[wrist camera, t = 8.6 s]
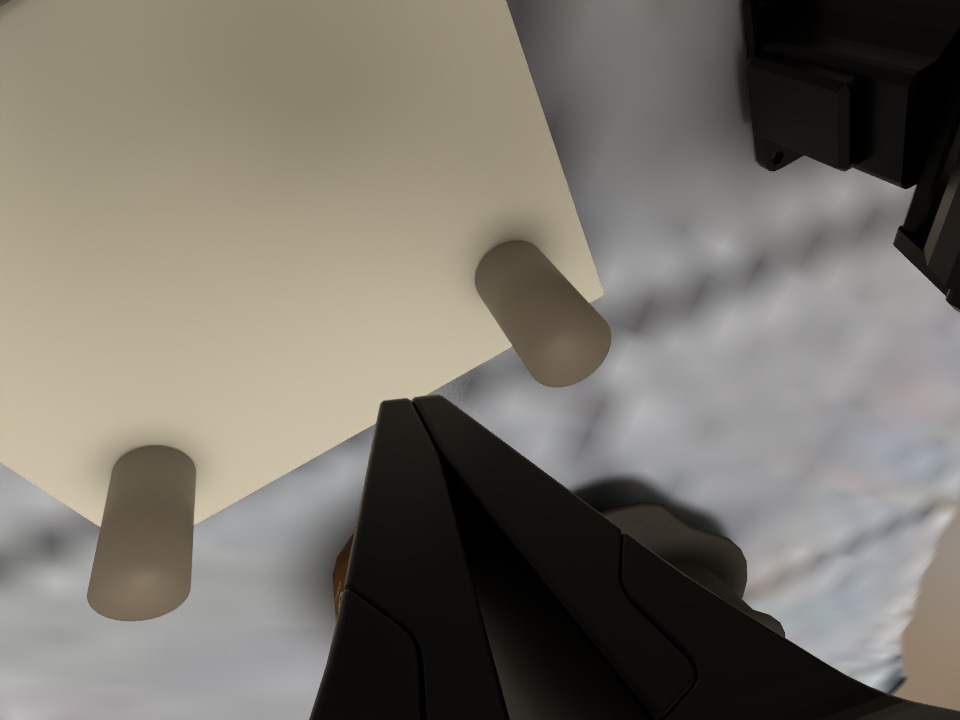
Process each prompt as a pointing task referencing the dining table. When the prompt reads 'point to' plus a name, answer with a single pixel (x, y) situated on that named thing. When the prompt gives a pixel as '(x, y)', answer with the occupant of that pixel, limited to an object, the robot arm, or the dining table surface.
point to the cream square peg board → (260, 247)
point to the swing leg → (3, 2)
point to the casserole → (691, 553)
